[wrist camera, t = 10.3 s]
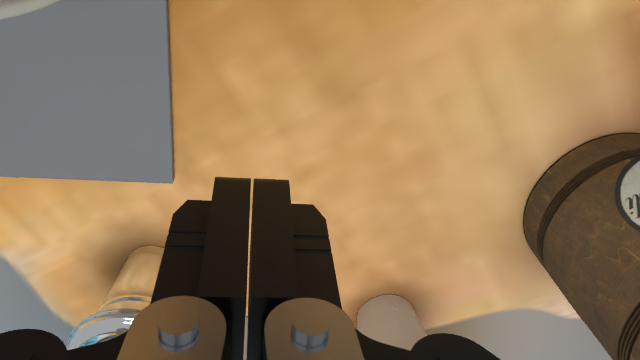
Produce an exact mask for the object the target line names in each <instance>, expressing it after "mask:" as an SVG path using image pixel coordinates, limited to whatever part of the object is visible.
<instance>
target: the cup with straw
mask: <svg viewBox="0 0 640 360" xmlns="http://www.w3.org/2000/svg"><path fill="white" fill-rule="evenodd" d="M163 252H164V248H162V247H158V246H144V247H140V248H138V249H136V250H134V251H133V252H132V253H131V254H130V255H129V257H128V258H127V261H126V262H125V264H124V266H123V267H122V269H121V271H120V273H119V275H118V276H117V278H116V280H115V282H114V284H113V286H112V288H111V289H110V291H109V293H108V295H107V297H106V299H105V300H104V302H103V304H102V305H101V306H100V307H99V308H98V310H97V311H96V313H95V314H93V315H91V316H89V317H87V318H86V319H84V320H83V321H81V322H80V323H79V324H78V325H77V326H76V327H75V328H74V330H73V332H72V333H71V335H70V338H69V342H68V350H71V349H75V348H79V347H83V346H87V345H91V344H96V343H100V342H103V341H106V340H109V339H112V338H114V337H117V336H119V335H121V334H123V333H124V332H126V331H128V330H129V327H130V325H131V323H132V321H133V319H134V318H135V317H136V315H137V314H138V313H139V312H140V311H141V310H142V309H144V308H145V307H147V306H148V305H150V302H151V299H152V295H153V291H154V287H155V283H156V279H157V275H158V271H159V267H160V264H161V260H162V256H163Z"/></svg>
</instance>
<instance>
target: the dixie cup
mask: <svg viewBox="0 0 640 360" xmlns="http://www.w3.org/2000/svg"><path fill="white" fill-rule="evenodd" d="M357 330H358V331H359V332H361V333H362V334H364V335H365V336H367V337H369V338H371V339H373V340H375V341H378V342H381V343H384V344H388V345H392V346H395V347H399V348H403V349H406V350H410V351H411V349H412V347H413V346H414V344H415V343H416V342H417V341H418V340H420V339H422V338H423V337H426V336H427V334H426V333H425V331H424V329H423V327H422V325H421V323H420V321H419V319H418V317H417V316H416V314H415V312H414V310H413V308H412V306H411V304H410V303H409V302H408V301H407V300H406V299H404V298H403V297H400V296H397V295H381V296H377V297H375V298H372V299H370V300H369V301H367V302H366V303H365V304H364V305H363V306H362V307H361V308H360V310H359V312H358V314H357Z"/></svg>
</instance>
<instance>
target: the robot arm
mask: <svg viewBox="0 0 640 360" xmlns="http://www.w3.org/2000/svg"><path fill="white" fill-rule="evenodd" d="M250 186H251V179H250V178H228V177H215V182H214V189H213V195H212V201H202V200H187V201H186V202H185V203H184V204H183V205H182V206H181V207H180V208H179V209H178V210H177V211H176V212H175V213H174V214H173V217H172V221H171V225H170V228H169V235H168V236H167V240H166V244H165V249H164V252H163V256H162V260H161V264H160V267H159V271H158V275H157V279H156V283H155V287H154V291H153V295H152V299H151V302H150V305H148V306H147V307H145V308H144V309H142V310H141V311H140V312H139V313H138V314H137V315H136V317H135V318H134V319H133V321H132V323H131V325H130V327H129V330H128V331H126V332H124V333H123V334H121V335H119V336H117V337H114V338H112V339H109V340H106V341H103V342H100V343H96V344H91V345H87V346H83V347H79V348H75V349H71V350H67V349H66V347H65V345H64V343H63V342H62V341H61V340H60V339H59V338H58V337H57V336H55V335H54V334H51V333H49V332H46V331H43V330H36V329H21V330H13V331H8V332H5V333H1V334H0V360H243V355H244V335H245V315H246V294H247V267H248V240H249V213H250ZM247 360H500V359H499V358H497V357H496V356H495V355H493V354H492V353H490V352H489V351H487V350H486V349H485V348H483V347H482V346H480V345H479V344H477V343H475V342H474V341H471V340H469V339H467V338H464V337H461V336H458V335H454V334H446V333H442V334H441V333H440V334H432V335H428V336H426V337H423V338H422V339H420V340H418V341H417V342H416V343H415V344H414V346H413V347H412V349H411V351H410V350H406V349H403V348H399V347H395V346H392V345H388V344H384V343H381V342H378V341H375V340H373V339H371V338H369V337H367V336H365V335H364V334H362V333H361V332H359V331H358V330H357V329H356V328H355V327H354V325H353V322H352V320H351V319H350V317H349V316H348V315H347V314H346V313H345V312H344V311H343V310H342V307H341V302H340V296H339V291H338V285H337V280H336V274H335V269H334V263H333V257H332V253H331V246H330V241H329V235H328V230H327V224H326V219H325V218H324V217H323V216H322V215H321V213H320V212H319V211H318V210H317V209H316V208H315V206H314V205H308V204H291V199H290V187H289V180H275V179H254V185H253V205H252V224H251V244H250V268H249V299H248V330H247Z"/></svg>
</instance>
